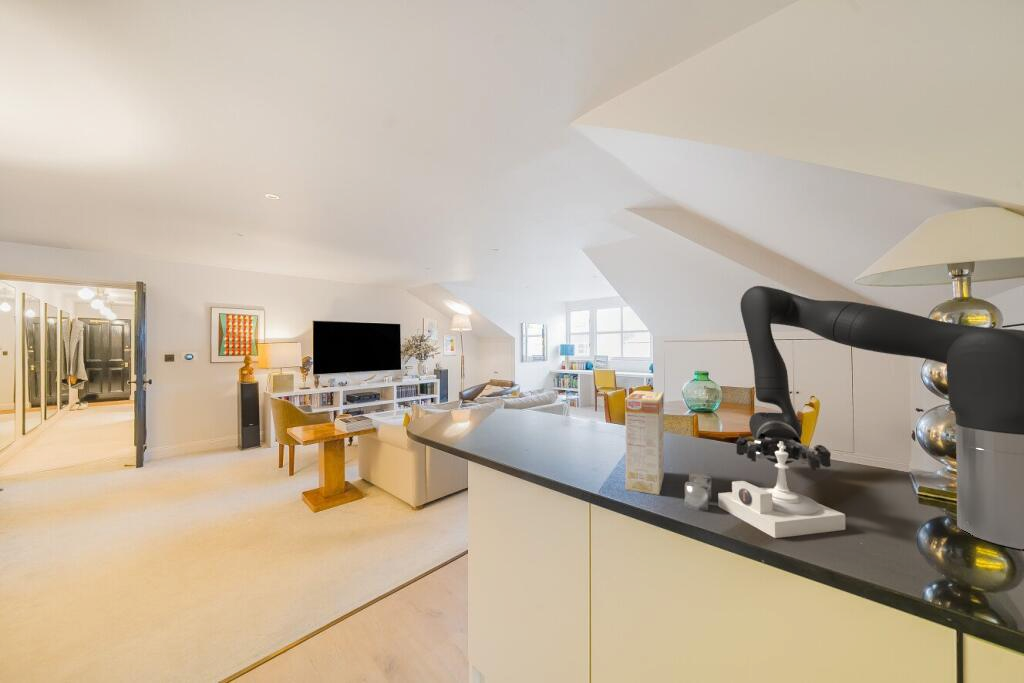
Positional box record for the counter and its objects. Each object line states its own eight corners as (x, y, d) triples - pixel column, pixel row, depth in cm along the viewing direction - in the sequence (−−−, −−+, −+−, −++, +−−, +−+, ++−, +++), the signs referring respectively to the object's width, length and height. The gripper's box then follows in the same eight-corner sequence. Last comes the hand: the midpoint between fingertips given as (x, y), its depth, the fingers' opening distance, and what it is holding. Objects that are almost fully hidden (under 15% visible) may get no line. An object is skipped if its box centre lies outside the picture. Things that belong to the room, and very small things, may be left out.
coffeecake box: (634, 469, 93) (634, 390, 93) (665, 473, 90) (665, 391, 90) (623, 489, 79) (623, 397, 80) (659, 495, 76) (659, 399, 77)
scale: (779, 500, 74) (779, 471, 74) (845, 529, 62) (845, 495, 62) (718, 506, 71) (718, 476, 71) (774, 538, 59) (774, 501, 59)
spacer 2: (698, 501, 74) (698, 480, 74) (713, 510, 70) (713, 488, 70) (680, 503, 73) (680, 482, 73) (694, 511, 69) (694, 490, 69)
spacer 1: (701, 492, 78) (701, 472, 78) (715, 499, 74) (715, 479, 75) (684, 493, 78) (684, 474, 78) (698, 501, 74) (698, 480, 74)
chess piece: (788, 493, 69) (787, 438, 69) (806, 504, 64) (805, 445, 65) (759, 491, 70) (759, 437, 70) (775, 502, 65) (774, 444, 65)
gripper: (738, 419, 83) (735, 433, 70) (821, 426, 76) (835, 444, 62) (738, 453, 83) (735, 473, 70) (821, 464, 75) (836, 490, 62)
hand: (782, 459), depth 66 cm, fingers open, 8 cm apart
